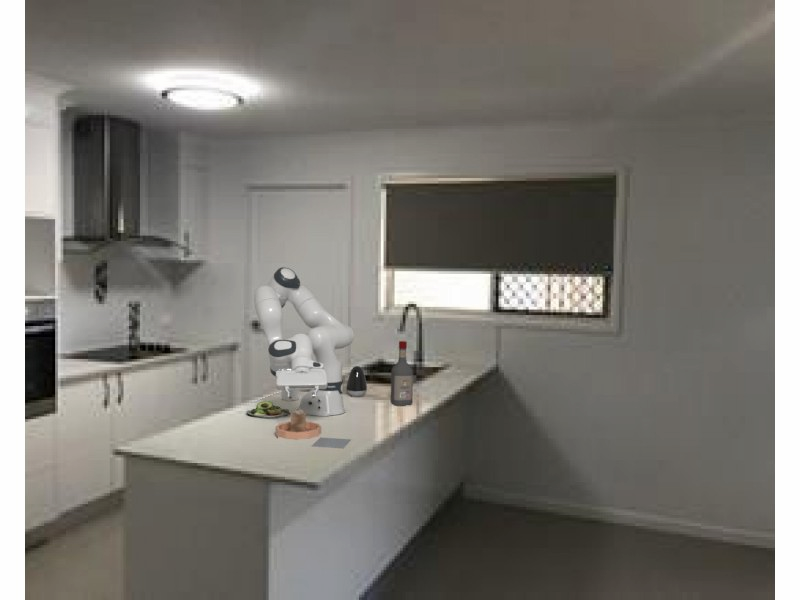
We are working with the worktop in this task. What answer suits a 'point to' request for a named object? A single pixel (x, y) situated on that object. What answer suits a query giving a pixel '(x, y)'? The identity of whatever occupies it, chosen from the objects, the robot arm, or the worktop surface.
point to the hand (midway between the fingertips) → (301, 397)
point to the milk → (294, 395)
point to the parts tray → (331, 442)
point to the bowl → (284, 432)
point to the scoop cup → (298, 421)
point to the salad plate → (267, 411)
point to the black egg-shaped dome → (356, 382)
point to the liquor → (402, 379)
